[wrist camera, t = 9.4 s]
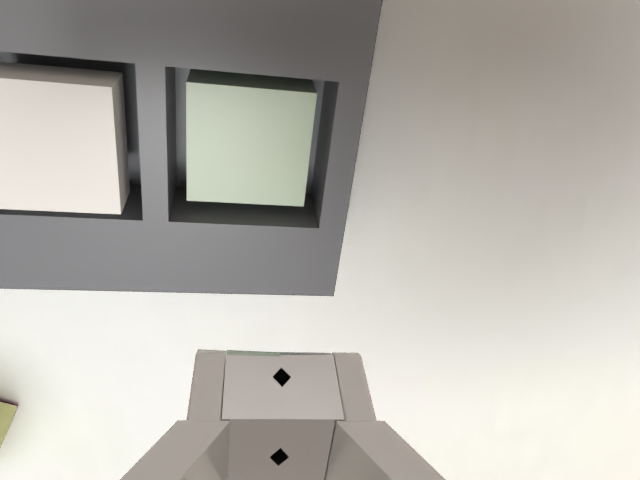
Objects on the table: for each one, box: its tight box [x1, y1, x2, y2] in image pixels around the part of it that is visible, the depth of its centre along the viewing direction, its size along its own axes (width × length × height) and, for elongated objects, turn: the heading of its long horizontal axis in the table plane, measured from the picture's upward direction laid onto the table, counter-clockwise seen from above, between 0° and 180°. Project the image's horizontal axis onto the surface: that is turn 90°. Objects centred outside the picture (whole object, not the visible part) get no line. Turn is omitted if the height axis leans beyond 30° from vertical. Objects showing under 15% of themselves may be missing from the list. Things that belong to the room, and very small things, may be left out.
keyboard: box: [0, 0, 382, 296], centre depth 20 cm, size 21×12×5 cm, turn 82°
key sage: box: [186, 69, 317, 207], centre depth 20 cm, size 4×4×2 cm
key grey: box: [0, 62, 130, 214], centre depth 18 cm, size 4×4×2 cm
